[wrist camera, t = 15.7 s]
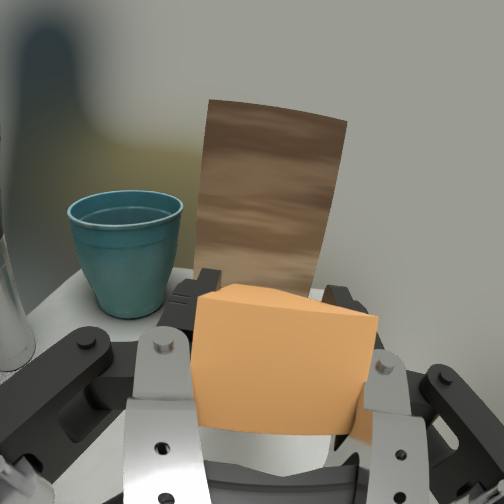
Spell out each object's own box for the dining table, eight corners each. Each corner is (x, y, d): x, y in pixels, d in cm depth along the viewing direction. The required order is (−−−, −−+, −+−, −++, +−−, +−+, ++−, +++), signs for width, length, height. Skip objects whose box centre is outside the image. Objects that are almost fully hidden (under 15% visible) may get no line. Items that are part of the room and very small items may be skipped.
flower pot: (67, 292, 44) (53, 202, 37) (142, 263, 58) (141, 184, 51) (114, 349, 35) (96, 237, 28) (201, 302, 49) (208, 208, 42)
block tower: (288, 360, 39) (347, 121, 26) (191, 347, 39) (209, 99, 26) (285, 311, 50) (324, 122, 37) (205, 300, 50) (225, 106, 36)
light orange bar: (352, 434, 6) (378, 317, 6) (185, 423, 6) (197, 296, 6) (270, 318, 29) (274, 288, 29) (230, 313, 28) (234, 283, 29)
